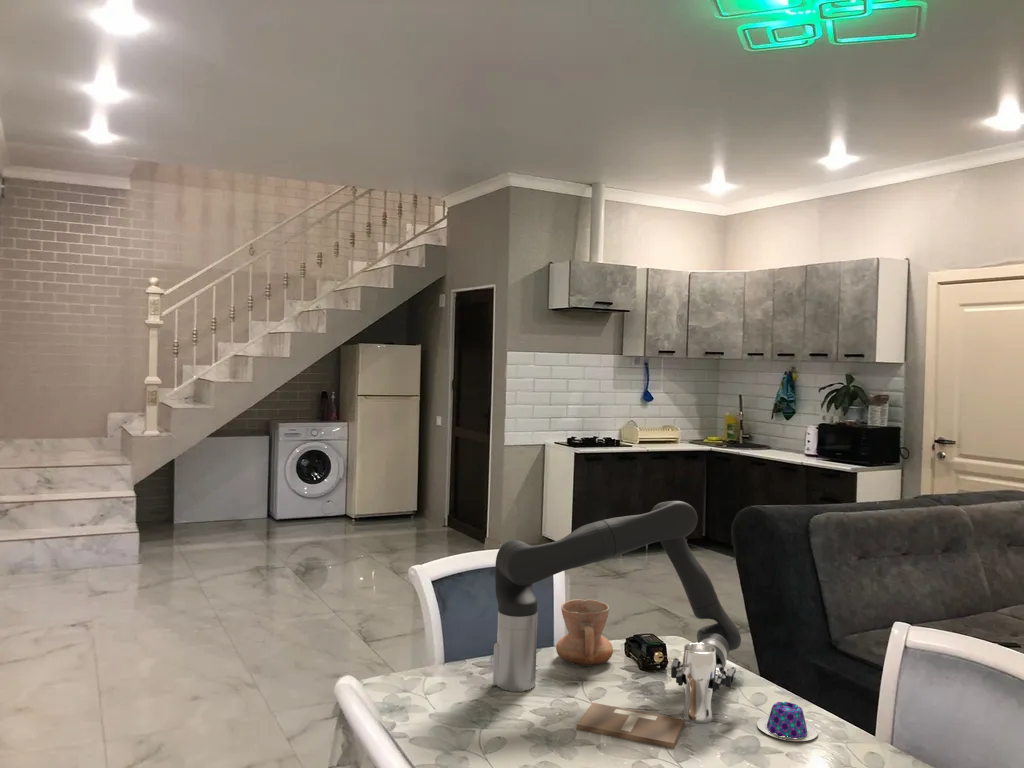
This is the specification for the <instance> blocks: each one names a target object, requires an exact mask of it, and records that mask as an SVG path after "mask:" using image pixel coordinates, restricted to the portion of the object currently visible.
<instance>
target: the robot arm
mask: <svg viewBox="0 0 1024 768" xmlns="http://www.w3.org/2000/svg"><path fill="white" fill-rule="evenodd" d="M698 518H699V516H698V514H697V511H696V510H695V508H694V507H693V506H692V505H690V504H689V503H688V502H685V501H681V500H668V501H663V502H659V503H657V504H656V505H654V506H653V507H652V509H651V511H649V512H646V513H642V514H633V515H625V516H617V517H611V518H607V519H601V520H598V521H594V522H591V523H590V522H589V523H587V524H584V525H581V526H579V527H577V528H576V529H574V530H573V531H571V532H570V533H569V534H568V535H566V536H564V537H562V538H560V539H558V540H556V541H552V542H548V543H543V544H537V545H536V544H535V545H530V544H528V543H526V542H525V541H522V540H517V539H513V540H512V539H511V540H509V541H506V542H505V543H504V544H502V545H501V547H500V548H499V550H498V551H497V554H496V557H495V569H494V570H495V574H494V575H495V576H494V577H495V582H494V583H495V597H496V601H497V632H496V633H497V636H496V639H497V642H495V643H494V644H493V664H492V665H493V668H492V672H493V673H492V685H493V686H495V685H497V686H496V687H498V688H499V687H500V688H499V689H501V688H502V689H501V690H504V689H505V690H504V691H507V690H510V691H509V692H517V691H519V692H526V691H525V690H527V691H530V690H532V689H534V688H535V687H536V681H537V680H536V679H537V672H536V671H537V644H538V643H537V641H538V636H537V634H538V633H537V632H538V630H537V629H538V599H537V597H536V595H535V592H534V588H533V584H536V583H538V582H539V581H540V582H541V581H543V580H545V579H547V578H549V577H550V578H551V577H552V576H554V575H557V574H559V573H561V572H565V571H567V570H571V569H576V568H579V567H584V566H587V565H589V564H590V565H591V564H594V563H599V562H602V561H605V560H609V559H612V558H616V557H618V556H620V555H624V554H626V553H630V552H632V551H636V550H637V549H640V548H642V547H645V546H648V545H650V544H653V543H658V542H660V544H661V546H662V547H663V549H664V551H665V552H666V555H667V557H668V559H669V560H670V562H671V564H672V567H673V568H674V570H675V572H676V573H677V576H678V578H679V581H680V582H681V585H682V586H683V587H682V588H683V590H684V593H685V595H686V597H687V600H688V602H689V605H690V608H691V609H692V612H693V615H694V616H695V617H696V618H697V619H699V620H713V621H715V622H716V623H714V624H709V625H705V626H703V627H701V628H700V629H698V630H697V633H696V640H697V643H703V644H707V645H710V646H712V647H714V648H715V654H716V676H715V679H714V680H713V688H712V691H713V692H717V691H720V690H721V687H723V685H724V686H725V687H726V688H732V686H733V685H734V683H735V681H736V678H737V668H736V667H734V666H730V667H729V668H725V667H726V666H727V658H728V655H729V652H732V651H736V650H737V649H739V648H740V646H741V643H742V636H741V632H740V630H739V628H738V627H737V625H736V624H735V623H734V621H733V620H732V618H730V617H729V615H728V614H727V612H726V611H725V610H724V607H723V606H722V604H721V602H720V600H719V598H718V595H717V593H716V590H715V587H714V585H713V583H712V580H711V578H710V577H709V575H708V574H707V573H708V572H706V571H705V569H704V568H703V566H702V565H701V564H700V562H699V560H697V558H696V557H695V556H694V553H693V552H692V551H691V548H690V547H689V545H688V542H687V540H686V537H688V536H689V535H691V534H692V533H693V532H694V530H695V529H696V527H697V524H698V522H699V521H698ZM670 667H671V668H670V678H672V679H675V683H676V684H677V685H678V686H679V687H682V686H684V685H683V684H684V680H683V661H682V662H681V660H680V658H676V657H675V658H673V660H672V663H671V666H670ZM534 686H535V687H534ZM533 687H534V688H533ZM531 688H532V689H531ZM529 689H530V690H529Z"/></svg>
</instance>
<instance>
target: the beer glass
mask: <svg viewBox="0 0 1024 768" xmlns="http://www.w3.org/2000/svg"><path fill="white" fill-rule="evenodd" d="M682 663H683V680H684V683H683V684H684V685H683V686H684V687H683V688H684V692H685V693H684V695H685V703H684V709H683V715H682V716H683V719H685V720H686V721H688V722H690V723H694V724H700V725H701V724H703V725H704V724H709V723H711V722H712V721H713V712H712V711H713V710H712V698H713V697H712V696H713V692H714V691H712V688H713V680H714V679H715V676H716V654H715V648H714V647H712V646H710V645H707V644H703V643H698V642H691V643H685V645H684V646H683V655H682Z"/></svg>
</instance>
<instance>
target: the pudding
mask: <svg viewBox="0 0 1024 768" xmlns="http://www.w3.org/2000/svg"><path fill="white" fill-rule="evenodd" d="M765 723H766V724H767V725H766V726H767V727H766V729H767V730H768V731H770V732H771V733H772V734H773V733H776V734H777V735H778V737H779V736H785V737H787V736H788V737H791V738H799V737H804V738H806V737H807V736H808V735H807V734H808V733H807V732H808V731H807V728H808V729H809V730H810V731H811V733H812V732H813V733H812V734H813V735H812V736H810V737H809V738H807V739H804V740H803V738H801V739H802V740H788V741H789V742H806V741H807V742H808V741H811V740H814V739H815V738H817V737H818V735H819V734H818V733H819V732H818V730H817V728H816V727H815V726H814V725H812V724H810V723H808V722H806V719H805V715H804V710H803V708H802V707H801V706H799V705H798V704H796V703H794V702H793V703H791V702H788V701H778V702H775V703H774V704H772V706H771V708H770V712H769V715H768V716H763V717H761V718H759V719H757V722H756V726H757V728H758V729H759V730H760V731H762V732H763V733H765V734H767V735H769V736H771V737H773V738H777V739H780V740H783V741H787V740H786V739H787V738H786V739H782V738H783V737H782V738H778V737H776V736H777V735H776V734H773V735H772V734H770V733H769V732H767V730H766V729H765V728H764V725H765ZM806 733H807V734H806ZM774 735H776V736H774ZM799 739H800V738H799Z"/></svg>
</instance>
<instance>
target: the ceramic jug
mask: <svg viewBox="0 0 1024 768" xmlns="http://www.w3.org/2000/svg"><path fill="white" fill-rule="evenodd" d="M560 606H561V607H560V610H561V614H562V619H563V620H564V621H563V622H564V624H565V627H566V629H567V631H568V633H566V635H563V637H561V638H560V639H559V640H558V641H557V643H556V646H555V649H556V650H555V651H556V653H557V655H558V657H560V659H561V660H563V661H565V662H566V663H567V662H568V663H569V664H572V665H576V666H582V667H592V666H599V665H601V664H604V663H606V662H608V661H609V660H611V658H612V656H613V653H614V649H613V648H614V647H613V645H612V643H611V641H609V639H607V638H606V637H605V636H603V635H602V633H603V632H604V628H605V626H606V623H607V620H608V618H609V611H610V607H609V604H607V603H605V602H602V601H599V600H597V599H589V598H588V599H585V600H584V599H582V598H580V599H579V598H578V599H577V598H576V599H571V600H566V601H565V602H564V603H562V604H561V605H560Z"/></svg>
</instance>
